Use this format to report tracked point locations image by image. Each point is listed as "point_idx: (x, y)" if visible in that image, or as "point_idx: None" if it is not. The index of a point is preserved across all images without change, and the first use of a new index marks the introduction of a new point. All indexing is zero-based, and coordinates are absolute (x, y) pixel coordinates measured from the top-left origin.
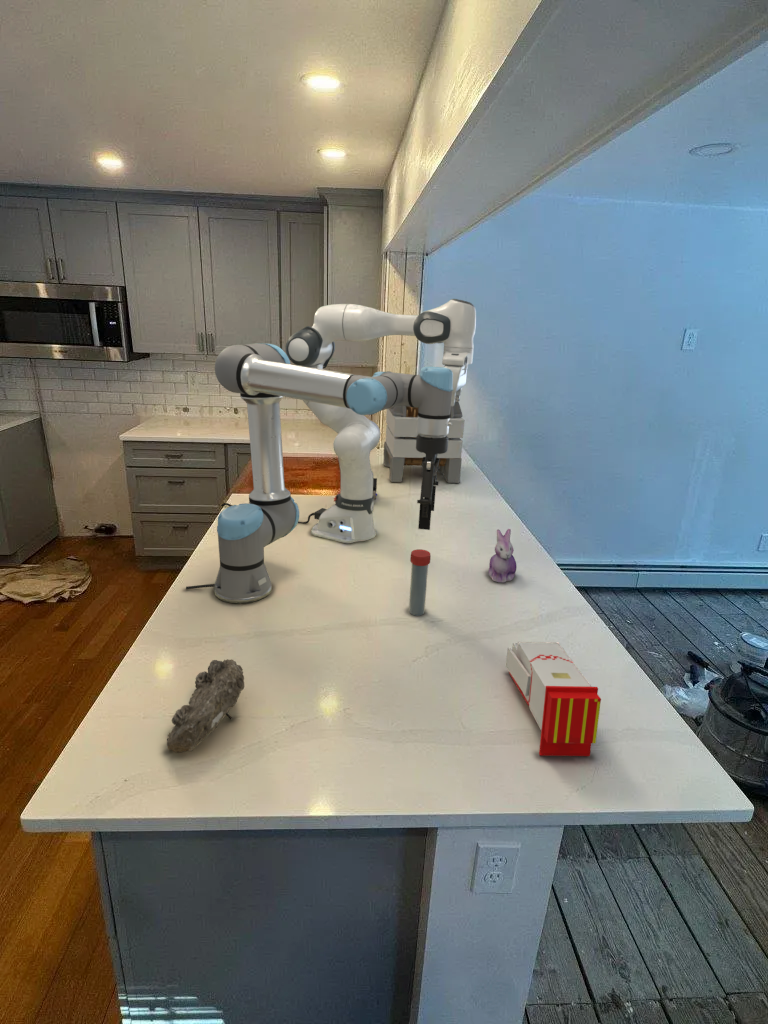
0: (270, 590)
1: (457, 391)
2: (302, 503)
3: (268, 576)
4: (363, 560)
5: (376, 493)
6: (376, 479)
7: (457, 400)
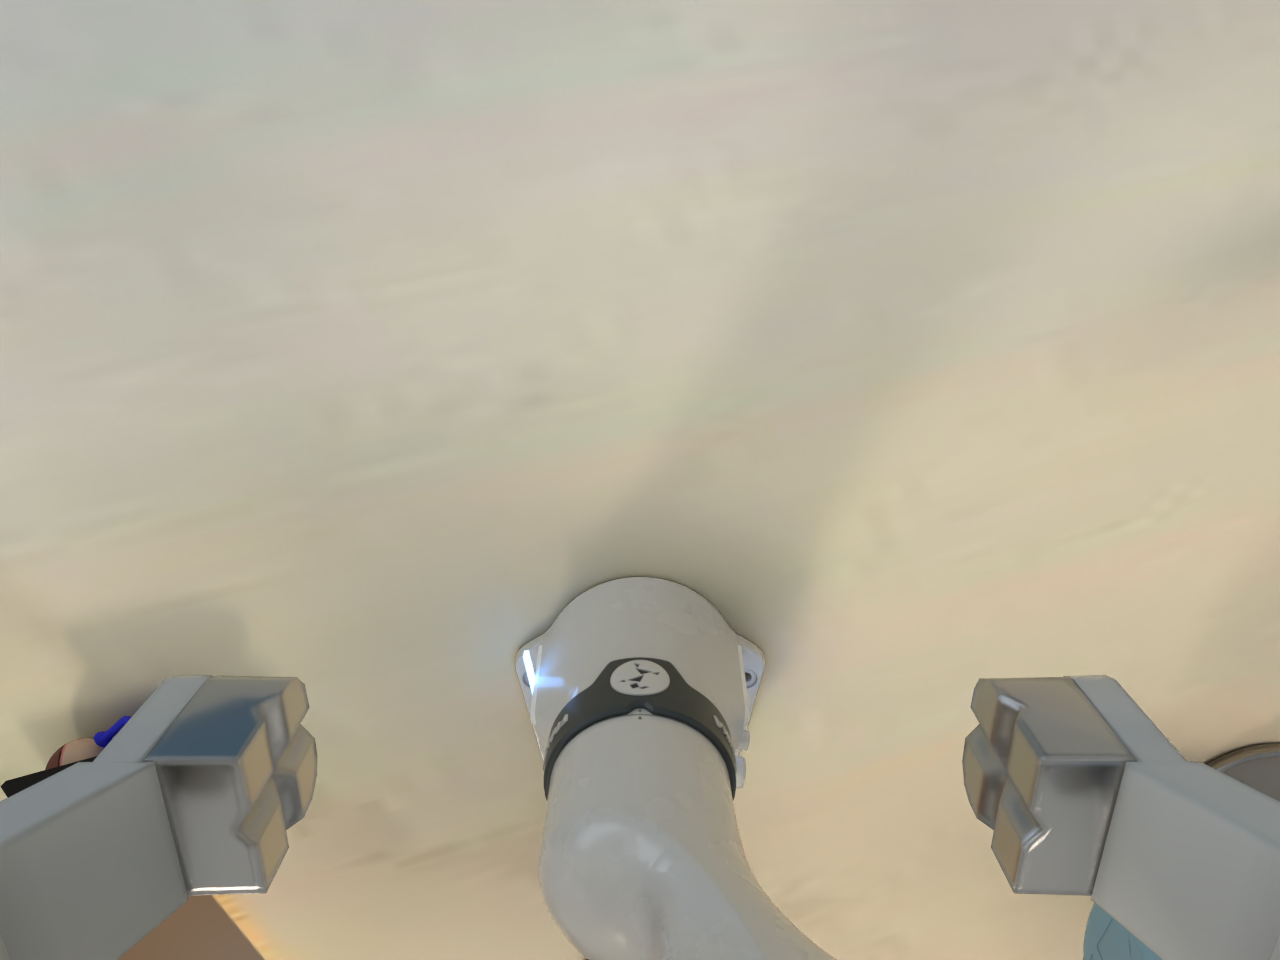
0: (1265, 748)
1: (35, 937)
2: (384, 944)
3: (1277, 790)
4: (914, 547)
5: (119, 724)
6: (20, 783)
7: (298, 717)
